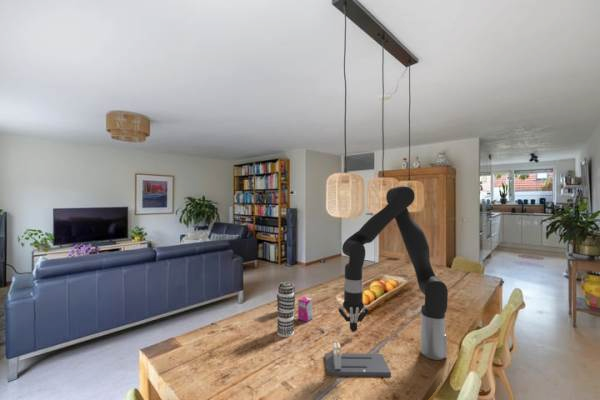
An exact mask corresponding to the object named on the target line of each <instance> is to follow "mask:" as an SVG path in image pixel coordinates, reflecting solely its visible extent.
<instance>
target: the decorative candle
mask: <svg viewBox="0 0 600 400" xmlns="http://www.w3.org/2000/svg"><path fill="white" fill-rule="evenodd" d="M294 285H295V284H293V283H292V282H291V281H281V282H280V284H278V285H277V287H279V292H278V291H277V294H276V299H277V301H276V302H277V303H276V305H277V306H276V307H277V312H278V314H277V319H276V320H277V324H276V325H277V326H276V331H277V335H278V336H279V337H283V338H289V337H291V336H293V335H294V334H295V316H294V308H296V302H295V303H293V302H294V301H296V295H295V296H294V291H293V290H294V288H293V287H294ZM294 298H295V299H294ZM278 304H279V305H278ZM294 305H295V307H294Z"/></svg>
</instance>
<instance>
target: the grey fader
mask: <svg viewBox="0 0 600 400" xmlns="http://www.w3.org/2000/svg"><path fill="white" fill-rule="evenodd" d="M333 352H334V367H335V369H341V354H342V352H341V353H340V350H334V349H333Z"/></svg>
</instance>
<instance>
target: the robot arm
mask: <svg viewBox="0 0 600 400" xmlns="http://www.w3.org/2000/svg"><path fill="white" fill-rule="evenodd" d="M415 195H416V194H415V191H414V190H413V188H411V187H410V186H407V185H399V186H396V187H392V188H390V189H388V190H387V192H386V197H385V198H386V202H387V204H386V206H384V207H383V208H382V209H381V210H379V211H378V212H376V213H375V214H374V215H373V216H372V217H370V218H369V219H368V220H367V221H366V222H365V223H364V224H363V225H362V227H360V228H359V230H357V231H355V232H354V233H353V234H352V235H350V236H349V237H348V238H347V239H346V240H345V241H344V242H343V244H342V248H341V249H342V254H344V255H345V256H346V257H348V258H349V259H348V262H347V263H346V264H345V265H344V282H343V302H342V306H339V307H338V308H337V309H338V312H339V314H340V315H341V316H342V318H343V319H344V320H345V321H346V322H349V329H350V331H351V332H352V333H355V332H356V331H357V330H358V322H362V321H363V320H364V318H366V316H367V315H368V314H369V311H370V310H369V308H368V307H367V306H365V304H364V299H363V297H364V294H363V291H364V285H363V267H364V262H365V258H366V249H365V244H370V243H372V242H373V241H374V240H375V239H376V238H377V237H378V236H379V234H381V232H382V231H383V230H384V229H385V228H386V227H387V226H388V225H389V224H390V223H391V222H392V221H393V220H394V219H395V221H396V225H397V227H398V230H399V233H400V234H401V238H402V241H403V244H404V246H405V250H406V252H407V254H408V257H409V260H410V261H411V264H412V266H413V268H414V271H415V276H416V280H417V285H418V288H419V289H420V292H421V293H422V294H423V295H424V304H423V305H422V306H421V309H420V311H421V312H420V315H421V316H420V317H421V318H420V319H421V321H420V353H421V354H422V356H424V357H425V358H427V359H430V360H435V361H440V360H441V361H442V360H443V359H447V358H448V356H447V355H448V354H447V353H448V348H447V347H448V340H447V338H448V336H447V334H446V330H445V329H446V312H447V310H448V300H449V299H448V298H449V294H448V293H449V291H448V287H447V285H446V284H445V283H444V282H443V281H442V280H440V279H439V278H438V277H437V276H436V274H435V272H434V269H433V267H432V265H431V261H430V258H431V257H430V245H429V244H428V240H427V238H426V234H425V233H424V231H423V230H422V228H421V227H420V225H419V224H418V223H417V221H415V220H414V218H413V217H412V215H411V214H410V211H409V209H408V208H409V207H410V206H411V205H412V204H413V203H414V201H415V199H416V198H415ZM345 311H346V312H347V313H348V315H347V313H346V312H345Z"/></svg>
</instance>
